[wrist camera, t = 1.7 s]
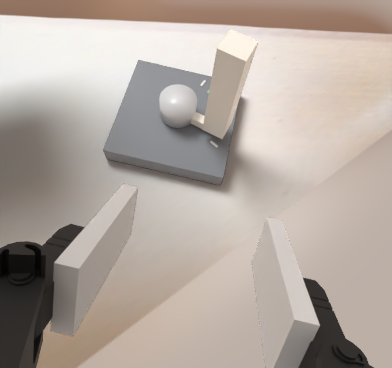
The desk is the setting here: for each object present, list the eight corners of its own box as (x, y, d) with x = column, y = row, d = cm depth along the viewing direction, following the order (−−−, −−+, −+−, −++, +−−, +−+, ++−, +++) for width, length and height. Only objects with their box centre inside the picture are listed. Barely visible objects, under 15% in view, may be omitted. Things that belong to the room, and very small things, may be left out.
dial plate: (106, 158, 35) (103, 149, 33) (139, 71, 40) (138, 59, 38) (220, 185, 34) (223, 177, 33) (238, 94, 40) (242, 83, 38)
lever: (153, 118, 34) (146, 25, 23) (170, 93, 36) (172, -5, 25) (217, 149, 34) (242, 68, 23) (232, 122, 35) (262, 34, 24)
